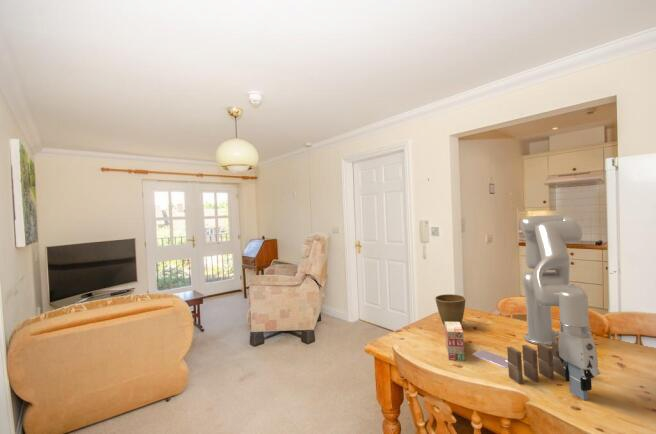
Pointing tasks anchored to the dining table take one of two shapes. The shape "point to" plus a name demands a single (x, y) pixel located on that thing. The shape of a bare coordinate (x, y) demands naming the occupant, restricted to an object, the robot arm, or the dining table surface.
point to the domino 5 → (576, 382)
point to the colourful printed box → (454, 341)
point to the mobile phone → (492, 358)
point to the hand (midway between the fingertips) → (578, 384)
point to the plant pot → (450, 307)
